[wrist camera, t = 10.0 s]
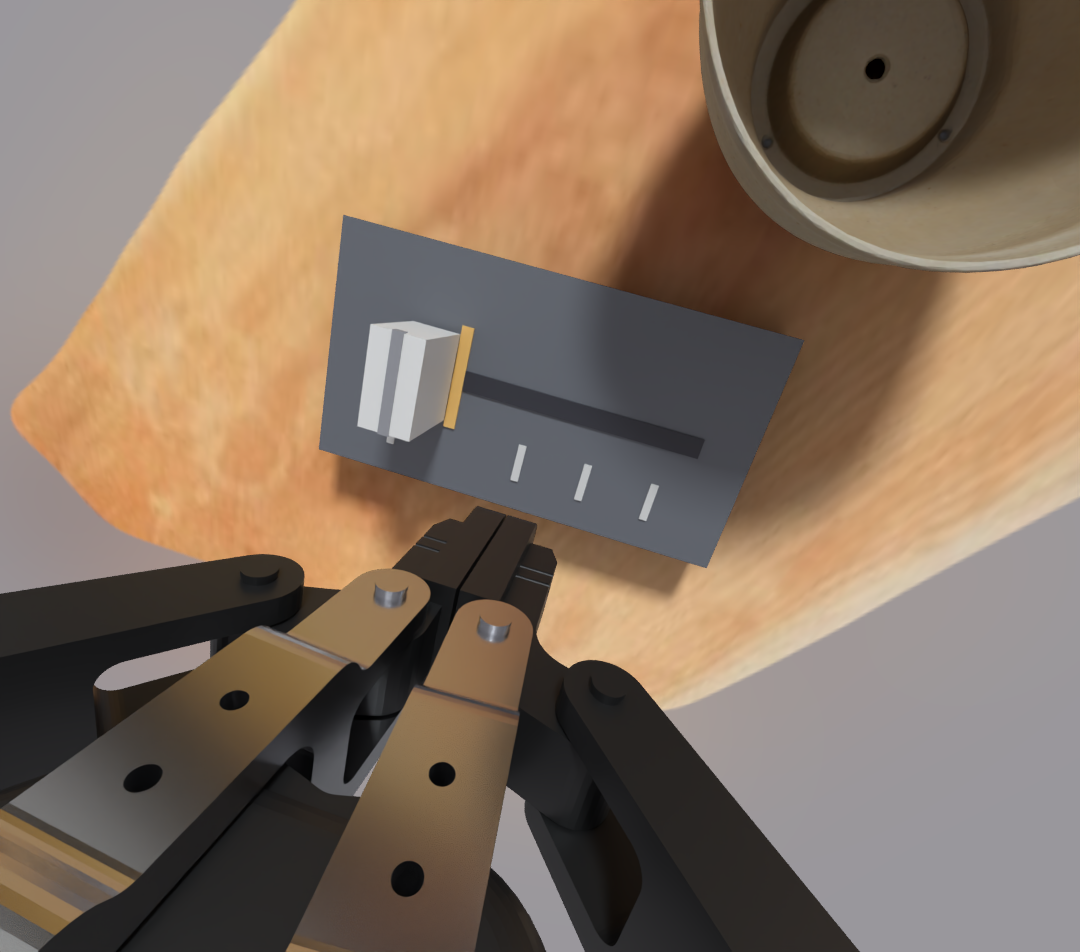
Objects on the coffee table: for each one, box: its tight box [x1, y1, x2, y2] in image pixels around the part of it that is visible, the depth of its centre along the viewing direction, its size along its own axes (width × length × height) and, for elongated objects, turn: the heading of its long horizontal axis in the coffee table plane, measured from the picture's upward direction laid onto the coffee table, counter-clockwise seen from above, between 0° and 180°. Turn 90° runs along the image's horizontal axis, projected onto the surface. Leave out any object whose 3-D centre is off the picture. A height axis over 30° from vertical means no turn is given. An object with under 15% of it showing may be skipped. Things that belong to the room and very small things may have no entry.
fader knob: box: [357, 321, 460, 442], centre depth 23 cm, size 2×4×4 cm, turn 165°
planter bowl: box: [699, 0, 1080, 273], centre depth 17 cm, size 16×16×11 cm
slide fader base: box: [319, 215, 804, 568], centre depth 27 cm, size 22×12×3 cm, turn 75°
